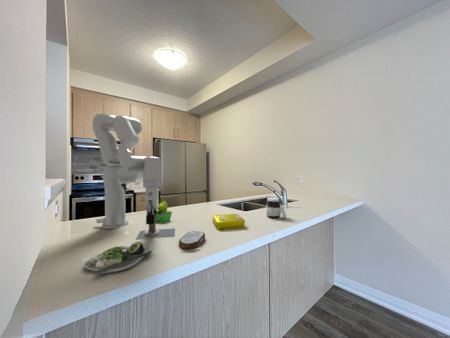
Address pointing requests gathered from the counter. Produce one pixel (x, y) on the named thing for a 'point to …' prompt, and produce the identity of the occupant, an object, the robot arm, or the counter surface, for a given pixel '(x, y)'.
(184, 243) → the tin
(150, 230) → the wood block on base
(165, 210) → the fruit basket
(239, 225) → the element tile
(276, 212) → the spread jar
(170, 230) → the mat
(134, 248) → the salad plate
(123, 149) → the robot arm
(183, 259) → the counter surface
